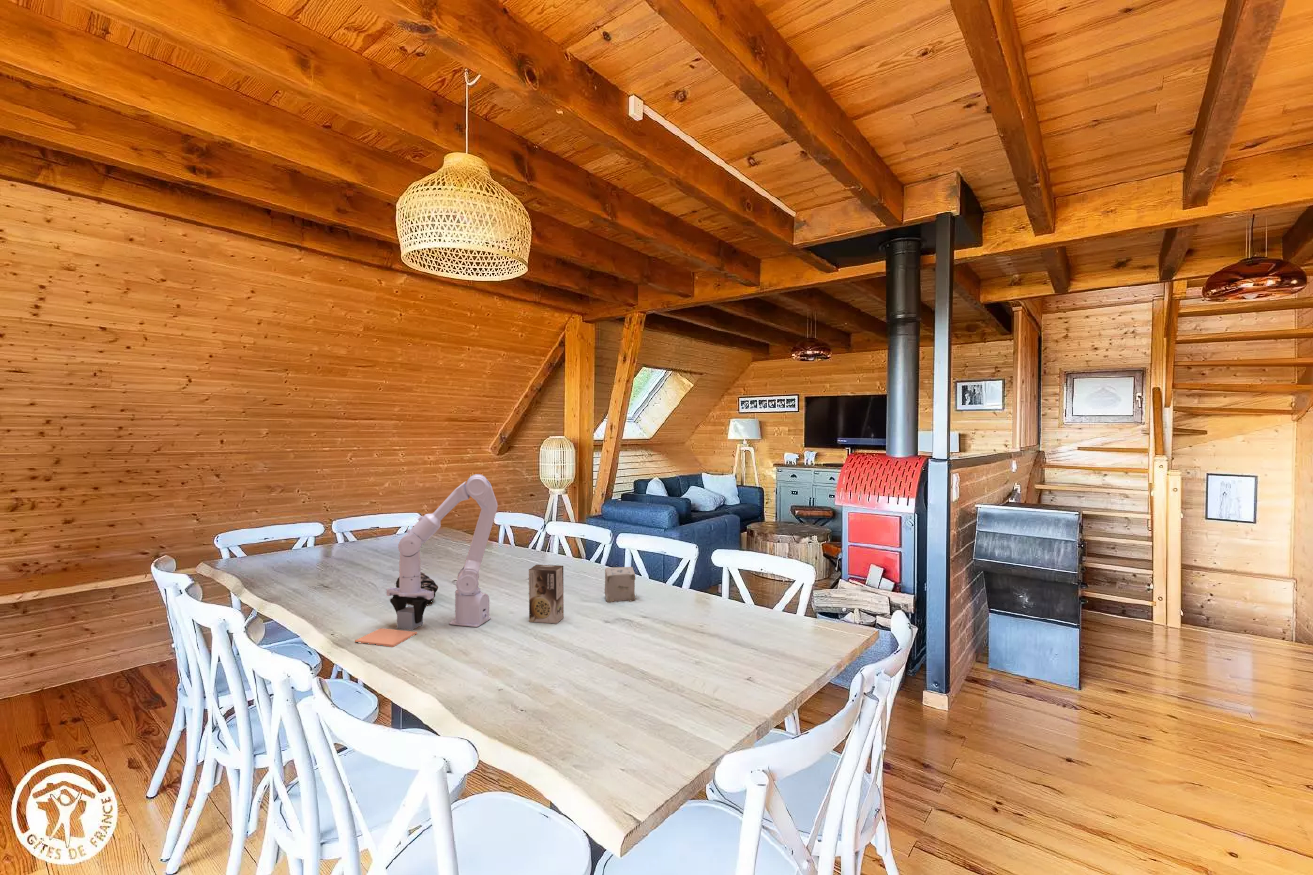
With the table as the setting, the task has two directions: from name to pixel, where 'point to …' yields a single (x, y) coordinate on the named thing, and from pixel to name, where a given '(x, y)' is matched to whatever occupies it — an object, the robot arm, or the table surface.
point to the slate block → (407, 618)
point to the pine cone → (423, 587)
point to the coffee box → (546, 594)
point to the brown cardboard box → (619, 584)
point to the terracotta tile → (386, 637)
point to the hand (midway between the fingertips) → (410, 621)
